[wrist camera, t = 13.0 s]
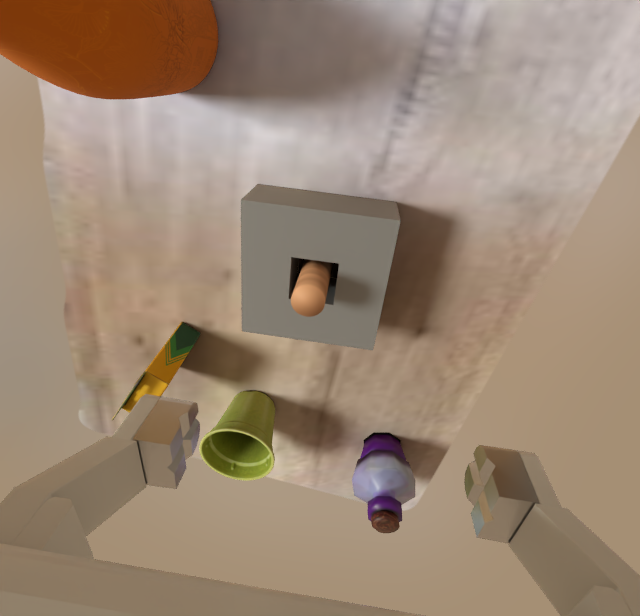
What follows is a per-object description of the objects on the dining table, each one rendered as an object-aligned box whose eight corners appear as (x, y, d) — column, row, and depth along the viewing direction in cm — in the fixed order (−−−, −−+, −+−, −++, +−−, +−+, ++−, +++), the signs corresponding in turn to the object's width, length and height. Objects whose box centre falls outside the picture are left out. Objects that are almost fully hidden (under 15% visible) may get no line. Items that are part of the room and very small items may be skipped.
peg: (307, 242, 41) (291, 284, 33) (335, 246, 41) (326, 289, 33) (305, 267, 43) (289, 314, 34) (332, 271, 43) (322, 319, 34)
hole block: (257, 184, 39) (241, 199, 34) (396, 202, 38) (400, 220, 33) (255, 303, 46) (241, 331, 41) (372, 319, 45) (373, 350, 40)
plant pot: (265, 438, 58) (249, 490, 51) (210, 407, 56) (186, 457, 48) (299, 403, 54) (288, 455, 46) (242, 369, 52) (221, 417, 44)
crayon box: (178, 367, 53) (134, 433, 43) (158, 355, 52) (109, 420, 42) (202, 333, 49) (160, 397, 39) (182, 320, 49) (134, 382, 39)
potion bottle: (344, 455, 58) (340, 536, 48) (363, 417, 54) (362, 497, 43) (399, 470, 58) (405, 553, 48) (422, 434, 54) (434, 516, 44)
